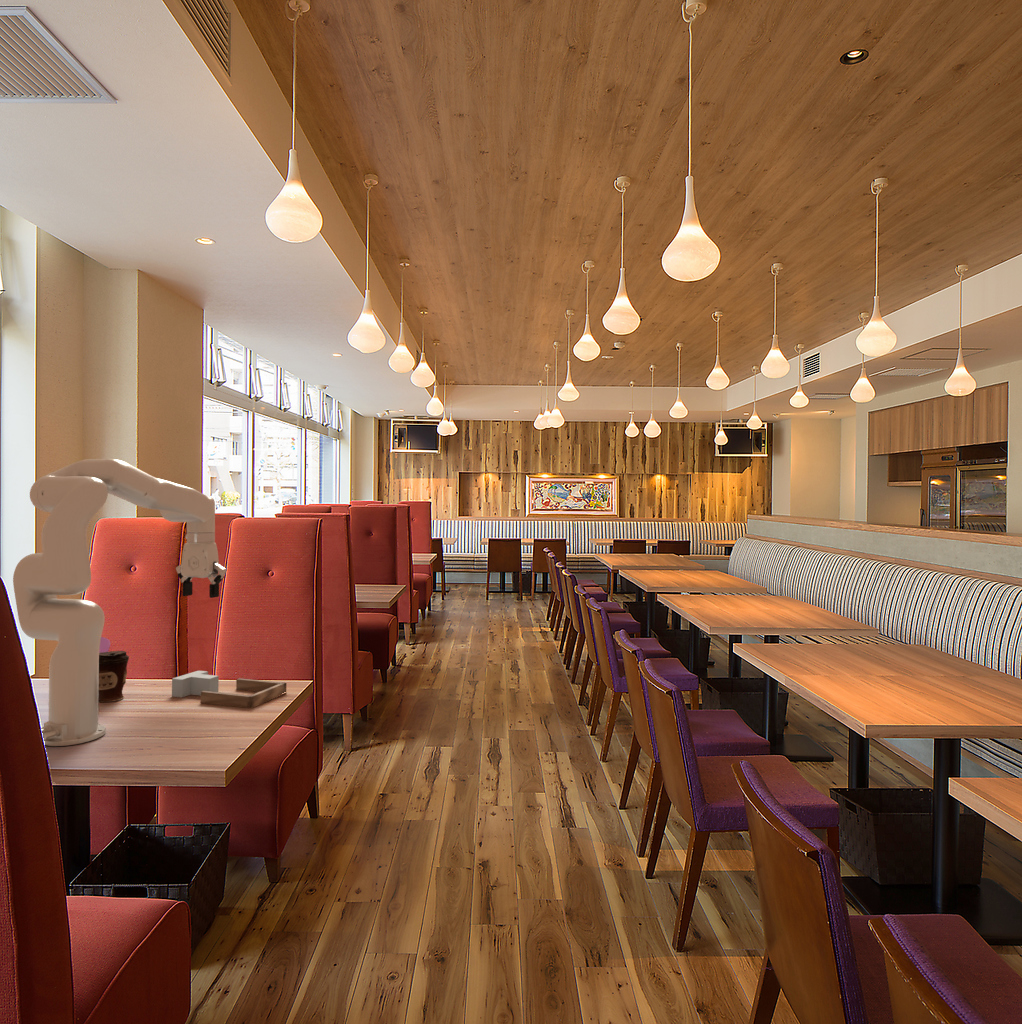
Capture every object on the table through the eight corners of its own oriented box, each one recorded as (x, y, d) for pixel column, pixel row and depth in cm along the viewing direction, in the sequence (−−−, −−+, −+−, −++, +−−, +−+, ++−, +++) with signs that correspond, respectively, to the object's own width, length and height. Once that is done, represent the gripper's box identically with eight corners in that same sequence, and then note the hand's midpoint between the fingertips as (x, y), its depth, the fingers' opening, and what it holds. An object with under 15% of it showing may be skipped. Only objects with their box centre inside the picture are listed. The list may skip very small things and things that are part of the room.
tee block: (201, 699, 181) (201, 681, 181) (171, 696, 184) (172, 678, 184) (226, 690, 190) (226, 673, 190) (198, 687, 193) (198, 670, 193)
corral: (251, 708, 173) (251, 697, 173) (200, 702, 178) (200, 691, 178) (286, 693, 188) (286, 682, 188) (239, 688, 192) (239, 678, 192)
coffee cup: (115, 704, 175) (115, 656, 175) (84, 704, 175) (85, 655, 175) (134, 695, 184) (135, 649, 184) (105, 695, 184) (106, 649, 184)
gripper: (167, 538, 191) (167, 596, 191) (215, 539, 186) (215, 599, 186) (187, 537, 198) (187, 593, 199) (234, 538, 193) (233, 596, 193)
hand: (200, 596), depth 192 cm, fingers open, 9 cm apart
